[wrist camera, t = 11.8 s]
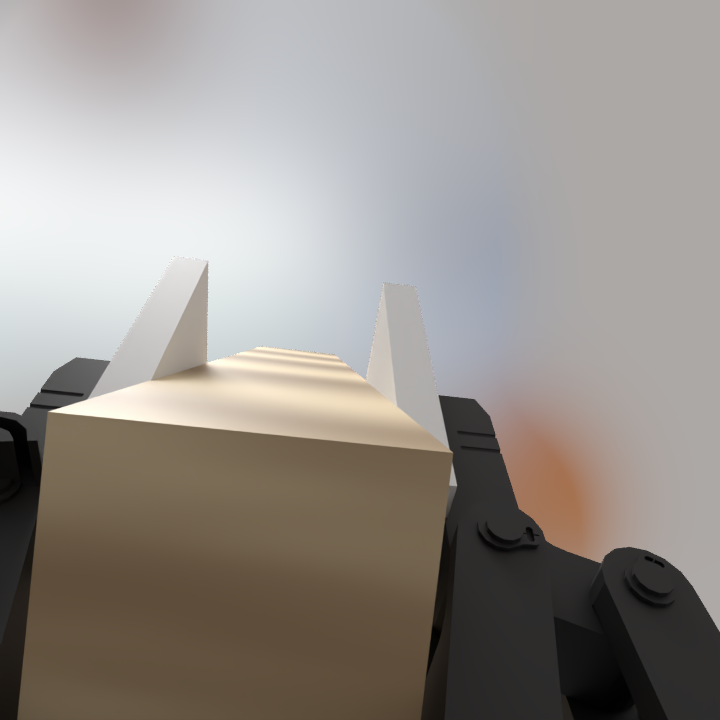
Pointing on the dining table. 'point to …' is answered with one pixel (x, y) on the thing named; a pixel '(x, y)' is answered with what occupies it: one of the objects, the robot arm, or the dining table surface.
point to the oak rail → (235, 549)
